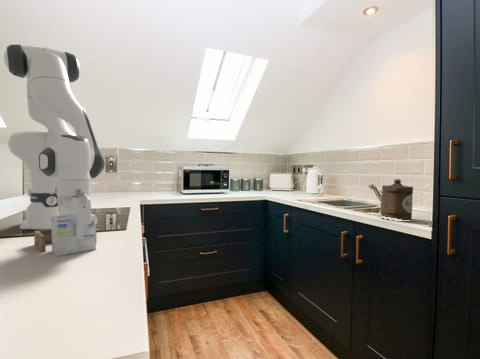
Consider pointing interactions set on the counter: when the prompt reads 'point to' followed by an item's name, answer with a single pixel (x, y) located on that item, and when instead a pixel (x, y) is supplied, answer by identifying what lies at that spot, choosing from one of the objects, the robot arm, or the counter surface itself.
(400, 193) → the wooden container
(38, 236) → the shelf bay
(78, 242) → the light bulb box
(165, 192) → the counter surface
